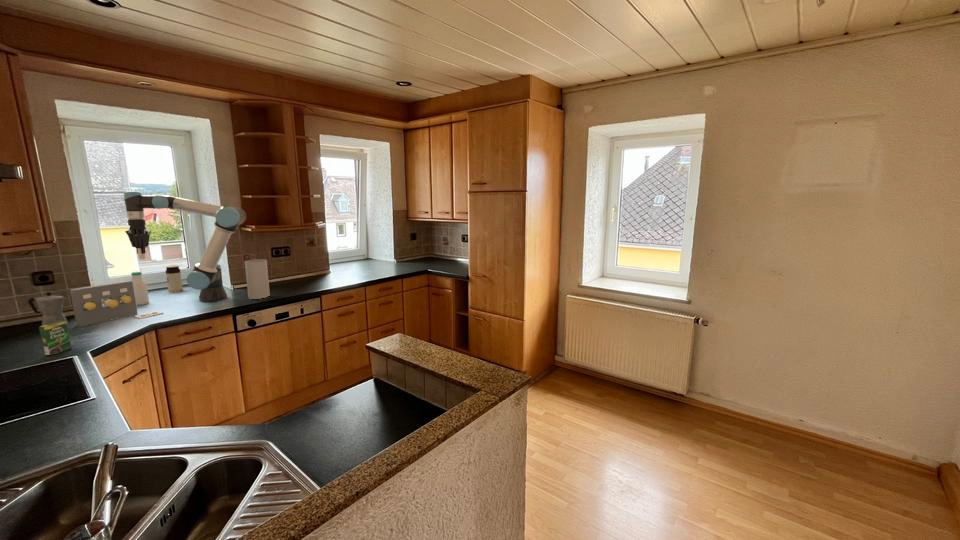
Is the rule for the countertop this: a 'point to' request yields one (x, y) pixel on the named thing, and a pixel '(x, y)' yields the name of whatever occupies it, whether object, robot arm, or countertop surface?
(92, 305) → the button
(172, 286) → the travel mug
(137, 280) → the milk bottle
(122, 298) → the button
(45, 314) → the coffeepot
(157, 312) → the card
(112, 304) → the middle button
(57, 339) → the coffee box
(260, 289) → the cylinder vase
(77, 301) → the button panel
